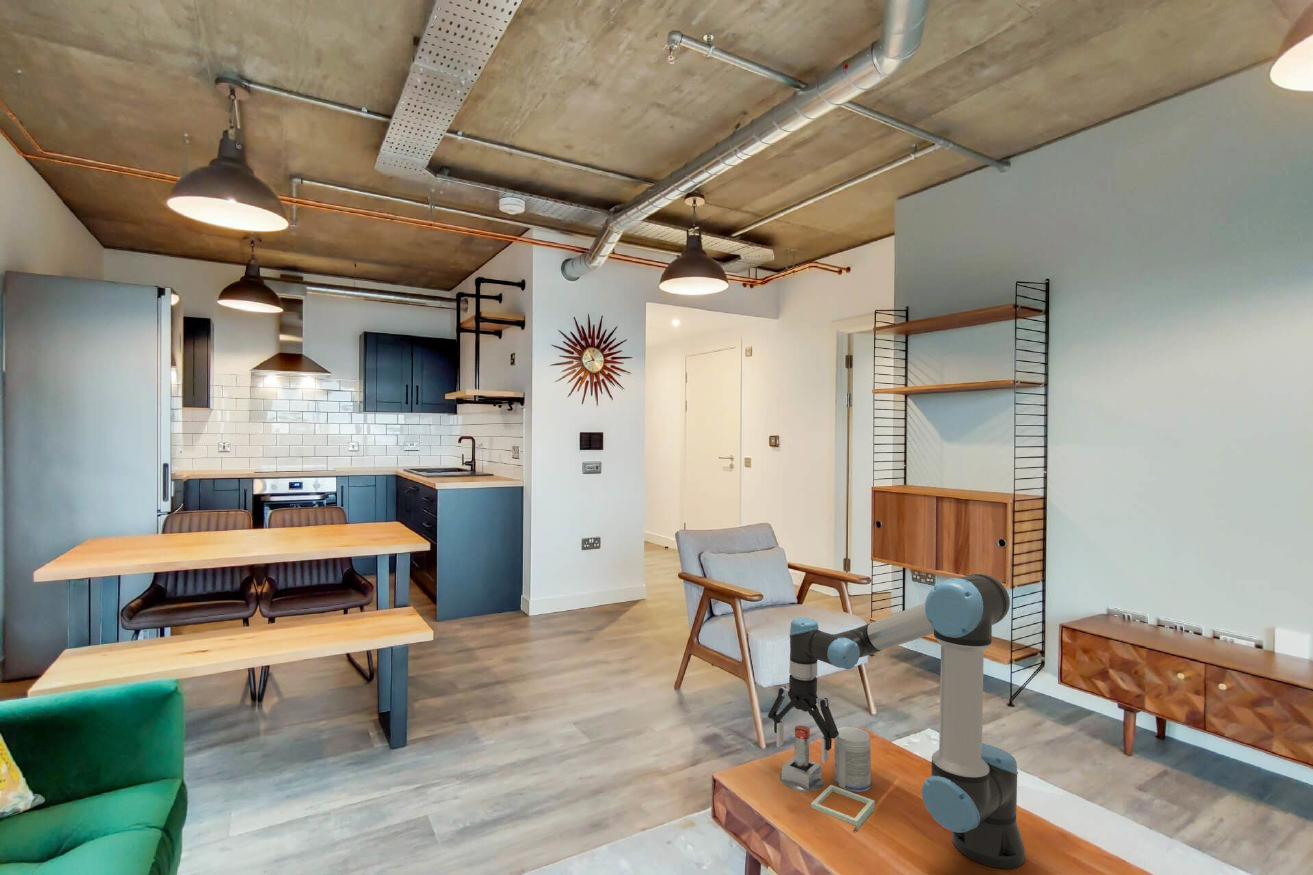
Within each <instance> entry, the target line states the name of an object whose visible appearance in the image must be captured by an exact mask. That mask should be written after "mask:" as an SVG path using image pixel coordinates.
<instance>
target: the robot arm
mask: <svg viewBox="0 0 1313 875" xmlns="http://www.w3.org/2000/svg"><path fill="white" fill-rule="evenodd" d="M1010 605H1011V600H1010V596H1009V593H1008V590H1007V588H1006V587H1005V585H1003V583H1002V582H1001V581H999V580H998V579H997V578H995V577H994V576H993V577H992V576H991V575H988V574H983V573H973V574H969V575H965V576H961V577H957V578H955V577H954V578H948V579H945V580H943V581H942V582H940V583H937V584H935V586H933V587H932V588H931V589H930V590H929V592H928V594H927V595H926V599H925V602H923V603H921V604H917V605H916V606H913V607H910V608H906V609H905V610H902V611H899V612H897V613H894V614H891V615H889V616H885V617H884V618H881V619H878V620H875V621H873V622H870V623H867V624H864V625H862V626H859V627H856V628H853V629H850V630H846V631H842V632H838V633H835V634H832V633H828V632H825V631H822V630H821V629H820V630H819V623H818V621H817V620H816V619H814V618H810V617H796V618H793V619H792V620H791V621H790V628H789V630H790V631H789V670H788V671H789V676H788V678H789V680H788V687H789V689H788V688H787V686H785V685H784V686H782V687H780V688H779V689H778V690H777V691H778V692H777V697H776V698H775V701H774V702H773V704H772V707H771V708H770V710H769V712H768V715H767V717H768V719H770V720H773V724H774V725H773V726H774V728H773V732H774V734H776V745H775V746H776V748H780V747H782V746H783V745H784V740H785V738H784V732H785V731H784V730H785V729H784V726H785V724H784V723H785V722H784V720H782V719H783V718H784V717H785V716H786V715H787V714H788V713H789V712H790V711H791V710H792V709H793V708H795V710H801V711H802V712H804V713H807V712H808V714H809V715H810V716H811V717H812V718H813V720H814V722H815V723H816V725H817V727H818V729H819V730H820V732H821V733H822V735H823V736H821V752H820V754H821V755H820V756H821V758H820V760H821V764H825V763H826V762H827V761H828V760H829V751H830V750H831V749H832V745H833V744H832V739H833V740H834V739H835V738H836V737H837V736H838V735H839V732H838V730H837V729H838V728H837V725H836V722H835V719H834V717H833V715H832V712H831V710H830V707H829V699H828V698H827V697H824V698H820V697H818V695H817V694H818V678H817V676H818V661H821V662H823V663H826V664H829V665H831V666H834V667H835V668H838V669H839V668H840V669H845V670H852V669H853V668H854V667H855V665H857V664H858V662H859V660H860V658H864V657H867V656H872V655H874V654H877V653H879V652H881V651H885V650H888V649H891V648H894V647H896V646H899V645H904V644H906V643H910V642H912V641H916V640H919V639H922V638H925V637H928V636H931V635H933V638H934V639H935V640H936V641H937V642H938V643H939V644H940V680H939V681H940V684H939V685H940V687H939V688H940V689H939V692H940V694H939V695H940V696H939V736H938V738H939V740H938V742H939V744H938V745H939V746H938V749H937V750H936V751H935V752H933V753H932V755H931V774H930V776H928V777H927V778H926V779H925V781H924V782H923V784H922V788H921V798H922V801H923V804H924V806H925V808H926V810H927V811H928V813H930V815H931V818H933V820H934V821H935V822H936V823H938V824H939V825H940V826H941V827H943V828H944V829H946V830H949V831H951V832H952V833H951V836H952V837H951V840H952V843H953V846H954V847H955V848H956V849H957V850H958V851H959V852H960V853H961V854H962V855H964V856H966V857H967V858H968V859H970V860H972V861H974V862H976V863H979V864H981V865H985V866H988V867H991V868H996V869H998V868H999V869H1014V868H1018V867H1020V866H1021V865H1023V864H1024V862H1025V858H1026V857H1025V852H1026V851H1025V850H1026V849H1025V843H1024V840H1023V838H1022V835H1021V831H1020V829H1019V826H1018V822H1017V809H1018V808H1017V807H1018V806H1017V805H1018V804H1017V802H1018V797H1017V796H1018V774H1019V772H1018V766H1017V765H1018V763H1017V760H1016V758H1015V757H1014V755H1012V754H1011V753H1009V752H1008V751H1006V750H1005V749H1002V748H999V747H997V746H995V745H990V744H987V743H983V716H984V715H983V714H984V712H983V711H984V710H983V709H984V708H983V705H984V704H983V702H984V701H983V700H984V659H985V658H984V652H985V650H987V649H988V648H990V646H992V642H993V640H992V639H993V638H992V636H993V635H992V634H993V630H992V629H993V625H995V624H998V623H999V622H1001V621H1002V620H1003V619H1004V618H1005V617H1006V616H1007V615H1008V612H1009V610H1010ZM787 696H788V698H789V700H790V701H789V702H788V704H786V706H784V708H783V709H782V710H781V711H780V712H779V713H778V711H779V710H780V707H781V705H782V704H783V701H784V700H785V698H786V697H787ZM819 708H820V709H819ZM820 710H821V713H822V714H821V713H820Z"/></svg>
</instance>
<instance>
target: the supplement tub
mask: <svg viewBox="0 0 1313 875" xmlns="http://www.w3.org/2000/svg"><path fill="white" fill-rule="evenodd" d="M837 730H838V732H839V735H838V736H837V737H836V738H834V739H833V740H834V747H833V748H834V754H833V755H834V782H835V784H836V785H837V786H838V787H839V788H841V789H844V790H847V791H849V792H866V791H868V790H869V789H871V786H872V784H871V782H872V780H871V774H872V772H871V771H872V768H871V767H872V766H871V764H872V762H871V761H872V759H871V754H872V753H871V750H872V748H871V746H872V744H871V737H870V733H868V732H867V731H866V730H864V729H861V728H858V727H853V726H842V727H838V728H837Z"/></svg>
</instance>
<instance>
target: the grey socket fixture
mask: <svg viewBox="0 0 1313 875" xmlns="http://www.w3.org/2000/svg"><path fill="white" fill-rule="evenodd" d="M822 764H823V763H818V762H816V761H813V760H810V759H809V770H807V771H803V770H800V769H798V768H795V767H794V755H793V756H792V757H791V758H790V759H788V760H786V762H785V763H784V764H782V765H781V772H780V774H779V777H778V778H779V781H780V782H781V783H782V785H784V786H785V787H787V788H789V789H792V790H795V791H798V792H805V793H806V792H807V793H808V792H816V791H818V790H820V789H821V788H823V787H824V784H825V780H824V779H823V778H822Z"/></svg>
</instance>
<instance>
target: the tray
mask: <svg viewBox="0 0 1313 875" xmlns="http://www.w3.org/2000/svg"><path fill="white" fill-rule="evenodd" d="M831 793H836V794H838V795H842V796H844V797H847V798H850V799H853V800H854V801H857V802H860V803H863V804H865V805H864V806H863V807H862V809H861V810H860V811H859V813H857V815H856V816H855V817H853V816H851V815H847V814H845V813H842V812H840V811H837V810H834V809H831V808H829V807H826V806H824V805H821V803H822V802H824V800H825V799H827V797H828V796H830V795H831ZM875 804H876V801H875V800H873V799H871V798H869V797H866V796H863V795H860V794H857V793H854V792H853V791H850V790H847V789H844V788H842V787H840V786H836V785H832V784H830V785H829V786H827V788H825V789H824V790H823V791H822V792H821V793H820V794H819V795H818V796H817V797H816V798H815V799H814V800H813V801H812V802H811V804H810V808H811V809H814V810H817V811H818V812H821V813H823V814H826V815H828V816H831V817H834V818H837V819H839V820H841V821H843V822H846V823H849V824H852V825H854V826H855V828H854V829H853V831H854V832H858V831H859V830H860V829H861V827H862V826H863V825H864V824H865V823H866V821H867V820H868V819H869V818H870V817H871V815H872V814H873V813H874V811H876V810H875V809H876V808H875V807H876V805H875Z"/></svg>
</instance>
